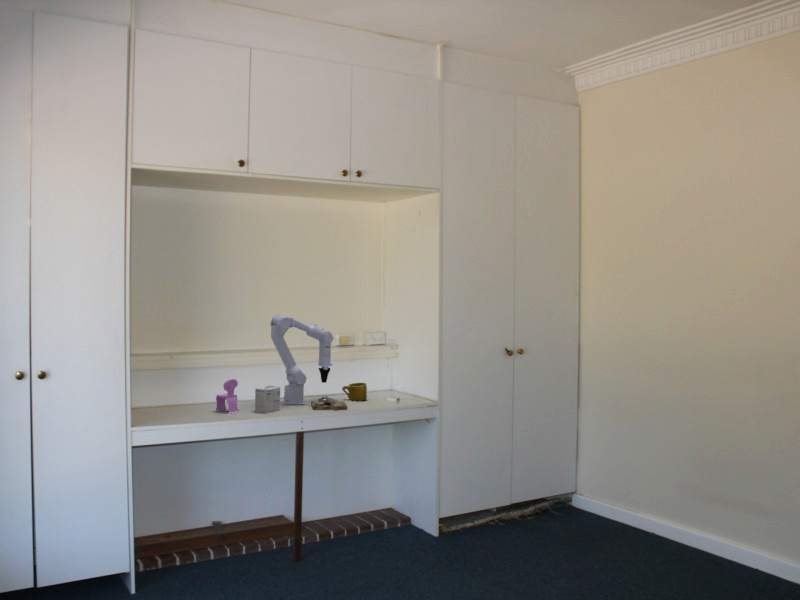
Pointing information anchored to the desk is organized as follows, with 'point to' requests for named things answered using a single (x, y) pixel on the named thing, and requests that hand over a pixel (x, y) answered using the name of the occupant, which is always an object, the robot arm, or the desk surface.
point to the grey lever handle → (328, 400)
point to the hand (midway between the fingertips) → (324, 382)
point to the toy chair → (228, 396)
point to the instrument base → (328, 406)
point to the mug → (356, 391)
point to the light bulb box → (267, 399)
